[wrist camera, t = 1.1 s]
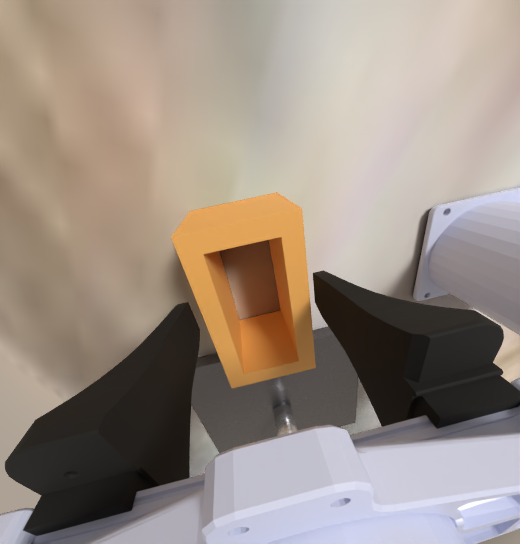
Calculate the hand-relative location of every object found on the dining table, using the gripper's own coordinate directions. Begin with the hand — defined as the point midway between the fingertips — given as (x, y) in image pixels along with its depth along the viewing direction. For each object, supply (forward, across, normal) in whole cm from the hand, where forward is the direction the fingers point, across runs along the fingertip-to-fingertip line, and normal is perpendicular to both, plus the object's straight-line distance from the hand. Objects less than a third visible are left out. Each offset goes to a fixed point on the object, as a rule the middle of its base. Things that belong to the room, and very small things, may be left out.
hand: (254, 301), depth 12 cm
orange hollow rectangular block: (+4, 0, 0) cm, 4 cm away
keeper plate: (+4, 0, +14) cm, 15 cm away
